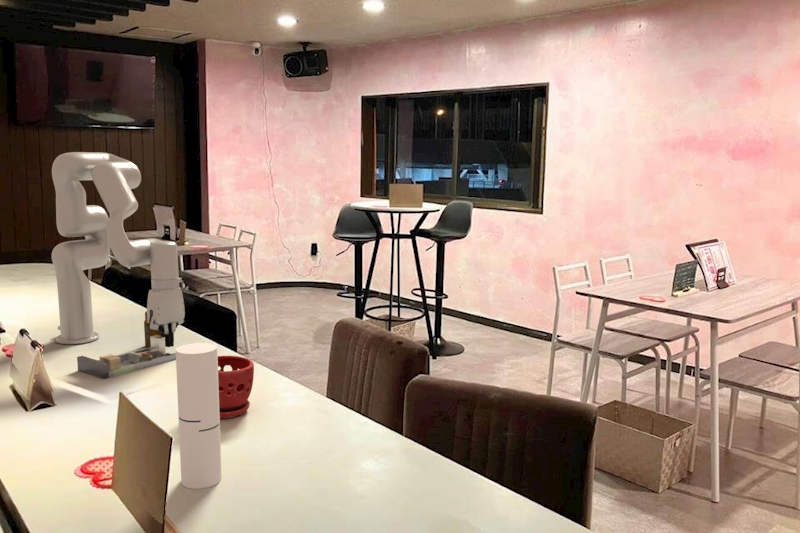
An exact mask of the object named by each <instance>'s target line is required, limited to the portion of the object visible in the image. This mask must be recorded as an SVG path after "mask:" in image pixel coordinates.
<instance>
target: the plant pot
mask: <svg viewBox="0 0 800 533" xmlns="http://www.w3.org/2000/svg"><path fill="white" fill-rule="evenodd" d="M254 365H255V363H254V362H253V361H252V359H249V358H247V357H243V356H238V355H218V368H220V369H218V384H219V414H220V419H228V418H234V417H237V416H238V417H239V416H240V415H242V414H244V413H245V412H246V411H247V410H249V408H250V405H251V403H250V401H249V400H248V399H249V398H250V396H251V392H252V390H253V384H254V375H255V373H254V372H255V368H254V367H255V366H254ZM226 366H230V367H231V370H225V369H224V368H225V367H226ZM224 370H225V371H224Z"/></svg>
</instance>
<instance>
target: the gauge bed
mask: <svg viewBox="0 0 800 533" xmlns="http://www.w3.org/2000/svg"><path fill="white" fill-rule="evenodd" d="M149 350H151V347H148V348H146V347H145V348H144V347H143V348H140V349H137V350H133V351H131V352H135V353H141V352H145V351H149ZM115 356H118V357H120V359H121V368H117V369H113V370H110V371H109V368H108V363H105V362H101V361H100V359H94V358H91V357H87V356H84V355H81V356H80V355H79V356H77V357H76V360H77V361H76V362H77V372H80V373H84V374H87V375H89V376H93V377H96V378H99V379H102V380H106V379H111V378H113V377H117V376H120V375H121V376H122V375H124V374H127V373H130V372H135V371H138V370H141V369H145V368H146V369H147V368H149V367H152V366H156V365H160V364H163V363H166V362H167V363H168V362H170V361H171V362H172V361H174V360H175V361H176V352H173V353H169V352H166V353H165V354H162V357H154V358H150V359H147V360H143V362H140V363H135V362H132V361H129V358H128V352H125V353H120V354H117V355H115Z"/></svg>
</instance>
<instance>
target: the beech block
mask: <svg viewBox="0 0 800 533" xmlns="http://www.w3.org/2000/svg"><path fill="white" fill-rule="evenodd" d="M99 360H100V361H101V362H105V363H108V368H109V371H110V370H113V369H117V368H121V359H120V357H118V356H116V355H114V354H111V353H110V354H105V355H100V356H99Z"/></svg>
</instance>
